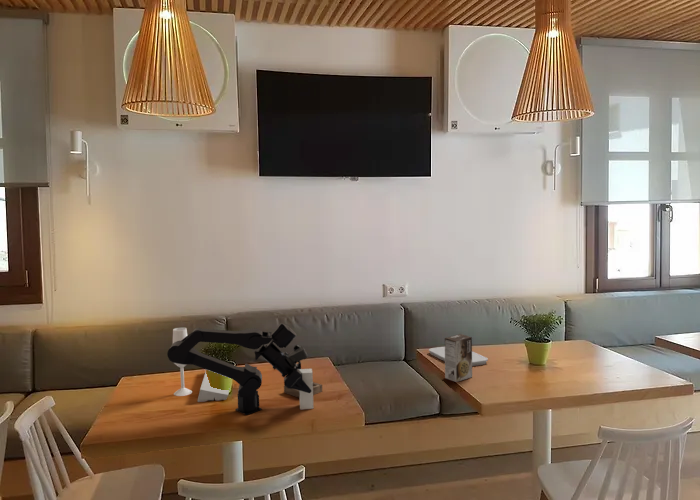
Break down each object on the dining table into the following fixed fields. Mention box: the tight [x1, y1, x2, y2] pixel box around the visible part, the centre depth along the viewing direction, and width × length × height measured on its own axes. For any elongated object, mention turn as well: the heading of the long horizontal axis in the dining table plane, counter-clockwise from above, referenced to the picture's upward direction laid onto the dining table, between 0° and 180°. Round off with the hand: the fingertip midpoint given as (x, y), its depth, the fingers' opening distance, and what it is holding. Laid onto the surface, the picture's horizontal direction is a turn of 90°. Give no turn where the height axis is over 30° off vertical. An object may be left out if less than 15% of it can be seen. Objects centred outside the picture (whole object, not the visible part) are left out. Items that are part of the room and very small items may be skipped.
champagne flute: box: [172, 327, 193, 397], centre depth 208 cm, size 7×7×24 cm
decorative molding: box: [197, 371, 230, 403], centre depth 217 cm, size 34×5×10 cm
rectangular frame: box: [283, 381, 323, 399], centre depth 207 cm, size 10×10×2 cm
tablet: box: [428, 345, 489, 367], centre depth 246 cm, size 16×26×2 cm, turn 21°
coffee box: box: [444, 333, 473, 383], centre depth 219 cm, size 9×6×16 cm
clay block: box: [299, 368, 314, 410], centre depth 192 cm, size 4×4×12 cm
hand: (310, 387), depth 192 cm, fingers open, 9 cm apart
